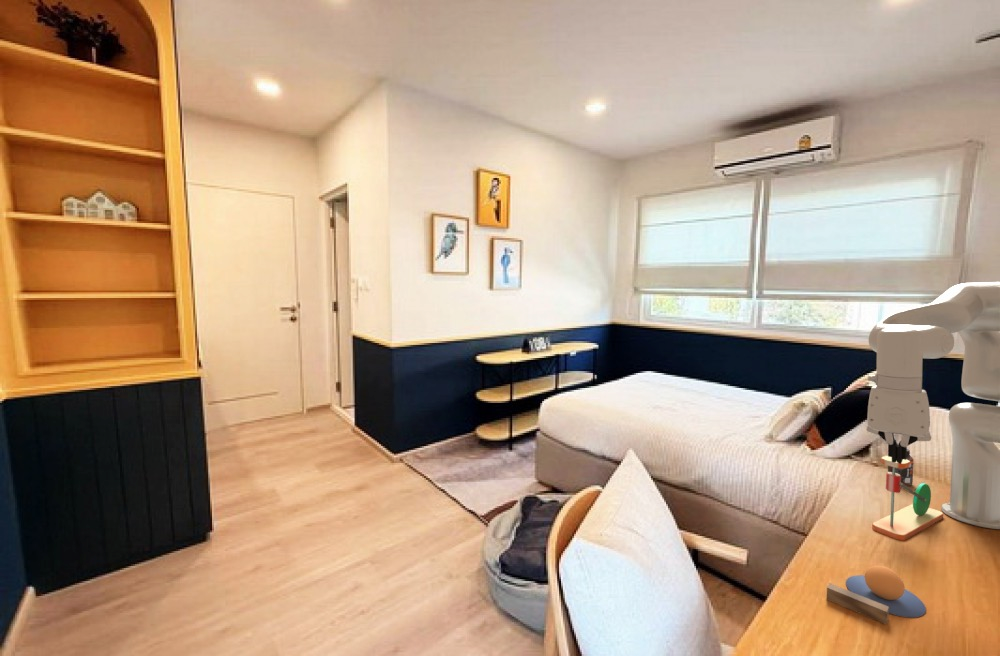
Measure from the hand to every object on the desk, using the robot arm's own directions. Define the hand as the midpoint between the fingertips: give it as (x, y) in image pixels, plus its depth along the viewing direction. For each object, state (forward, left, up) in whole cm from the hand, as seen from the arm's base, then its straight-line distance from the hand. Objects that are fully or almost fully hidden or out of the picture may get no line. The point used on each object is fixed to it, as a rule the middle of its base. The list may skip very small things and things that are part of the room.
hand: (897, 460), depth 96 cm
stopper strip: (+17, +21, -23) cm, 36 cm away
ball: (+10, +16, -20) cm, 28 cm away
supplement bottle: (-28, -49, -24) cm, 61 cm away
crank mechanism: (-14, -19, -24) cm, 33 cm away
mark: (+10, +15, -23) cm, 30 cm away
